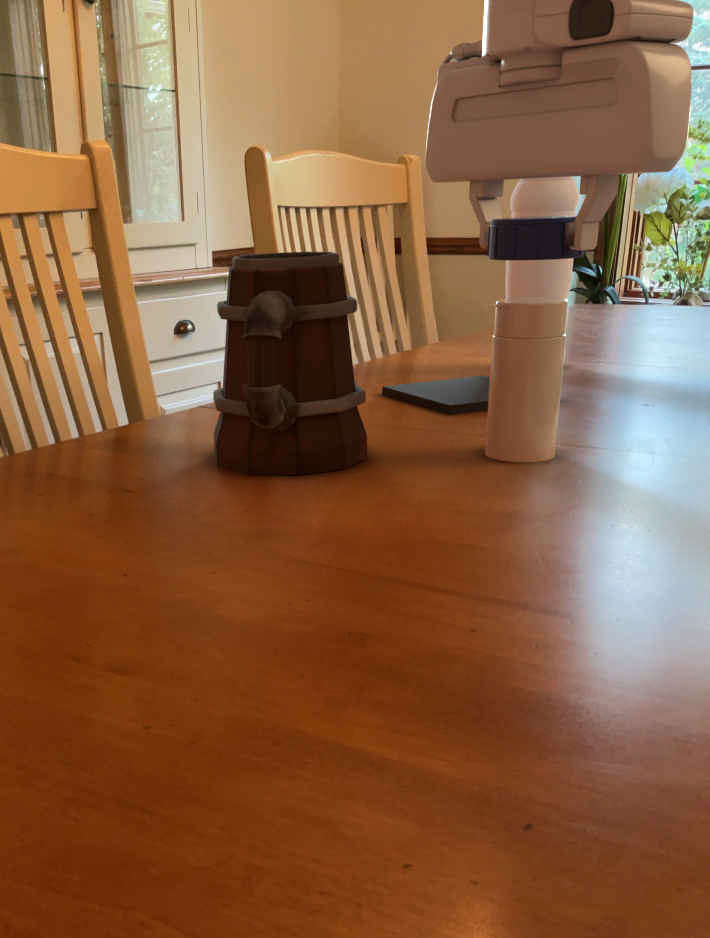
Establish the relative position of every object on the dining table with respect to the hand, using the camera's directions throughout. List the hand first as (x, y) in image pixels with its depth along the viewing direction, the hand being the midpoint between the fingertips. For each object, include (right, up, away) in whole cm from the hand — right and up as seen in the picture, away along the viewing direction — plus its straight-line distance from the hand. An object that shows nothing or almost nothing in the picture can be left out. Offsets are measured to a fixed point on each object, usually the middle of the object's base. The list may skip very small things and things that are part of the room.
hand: (535, 249), depth 74 cm
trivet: (+1, -5, +27) cm, 28 cm away
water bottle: (+12, +2, +44) cm, 45 cm away
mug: (-18, -15, +5) cm, 24 cm away
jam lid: (0, +2, -1) cm, 2 cm away
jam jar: (0, -14, +6) cm, 15 cm away
